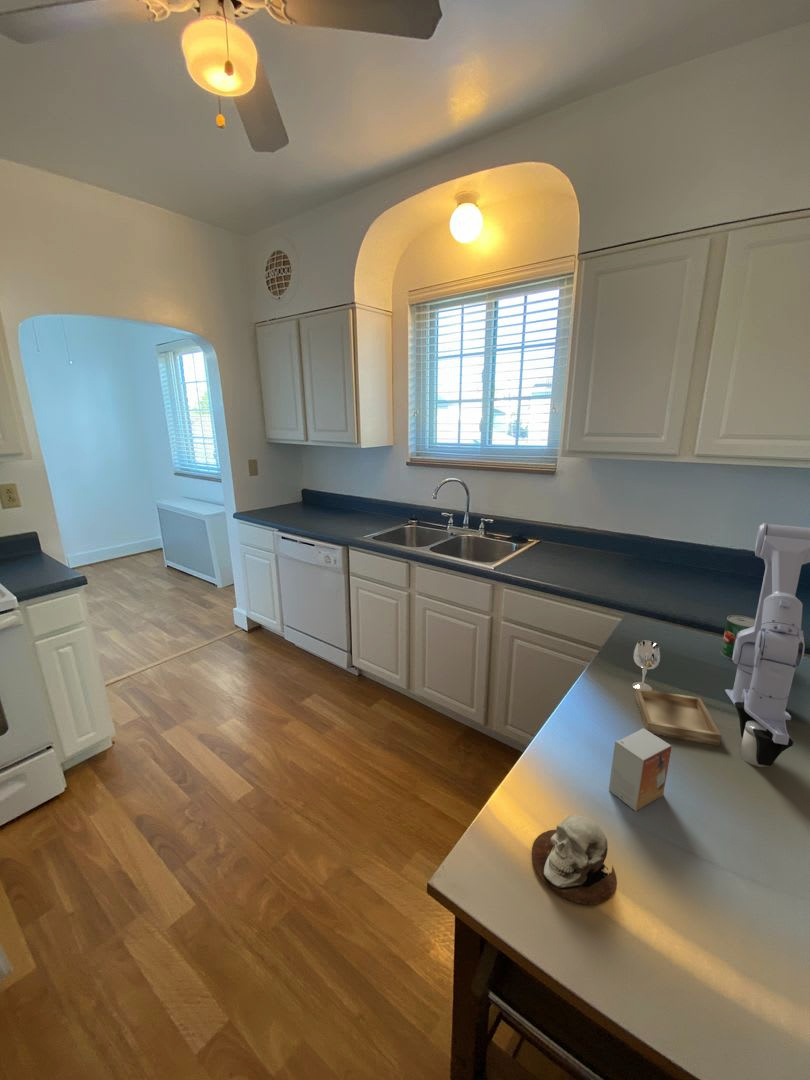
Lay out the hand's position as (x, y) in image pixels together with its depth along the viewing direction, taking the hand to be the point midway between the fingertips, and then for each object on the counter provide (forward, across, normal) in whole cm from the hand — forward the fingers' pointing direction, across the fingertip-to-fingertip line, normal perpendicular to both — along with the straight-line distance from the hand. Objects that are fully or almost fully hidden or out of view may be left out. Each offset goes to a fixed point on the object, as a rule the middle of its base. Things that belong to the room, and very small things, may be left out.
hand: (755, 751), depth 88 cm
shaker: (+2, 0, 0) cm, 2 cm away
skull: (+2, -34, +36) cm, 49 cm away
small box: (+2, -16, +24) cm, 29 cm away
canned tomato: (+2, +46, -13) cm, 48 cm away
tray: (+2, +9, +12) cm, 15 cm away
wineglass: (+2, +21, +16) cm, 27 cm away
